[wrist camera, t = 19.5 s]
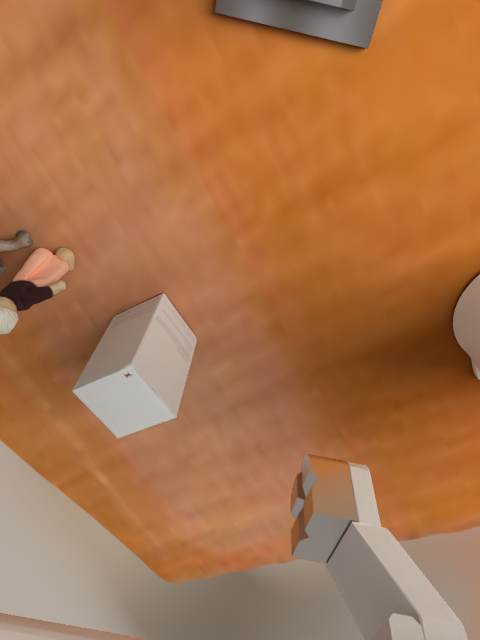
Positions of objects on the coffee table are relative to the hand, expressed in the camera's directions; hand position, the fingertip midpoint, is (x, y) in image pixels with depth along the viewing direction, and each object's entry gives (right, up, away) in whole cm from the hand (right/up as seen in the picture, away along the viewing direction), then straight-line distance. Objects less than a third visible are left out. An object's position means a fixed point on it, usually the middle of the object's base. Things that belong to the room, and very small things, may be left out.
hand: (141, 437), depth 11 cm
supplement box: (-7, +2, +41) cm, 41 cm away
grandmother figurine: (-18, +9, +37) cm, 42 cm away
